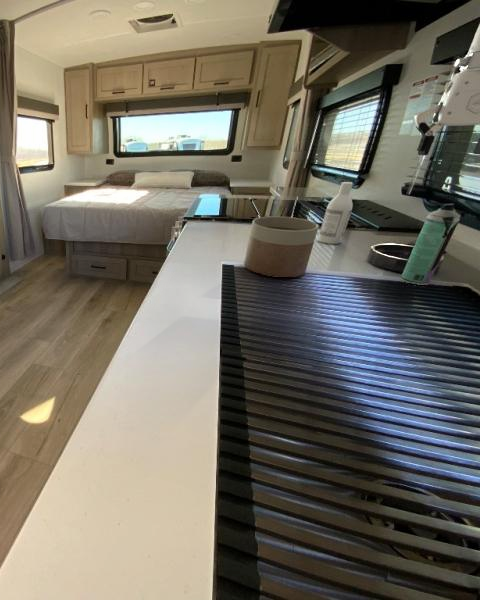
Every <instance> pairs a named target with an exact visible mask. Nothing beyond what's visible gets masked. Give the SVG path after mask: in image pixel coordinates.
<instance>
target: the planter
mask: <svg viewBox="0 0 480 600" xmlns="http://www.w3.org/2000/svg"><path fill="white" fill-rule="evenodd" d="M318 229H319V224H318V223H316V222H314V221H312V220H309V219H305V218H298V217H293V216H277V215H275V216H273V215H271V216H262V217H256V218H254V219H253V220H252V222H251V227H250V231H249V236H248V242H247V247H246V251H245V258H244V261H243V262H244V263H243V265H244V267H245V268H246V269H247V270H249V271H250V270H251V271H250V272H252V271H253V273H255V272H256V273H255V274H257V273H260V274H265V275H270V276H277V277H293V278H298V277H301V276H303V275H304V274H306V271H307V268H308V264H309V260H310V259H311V254H312V251H313V247H314V244H315V241H316V237H317V233H318ZM260 274H259V275H260Z"/></svg>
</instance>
